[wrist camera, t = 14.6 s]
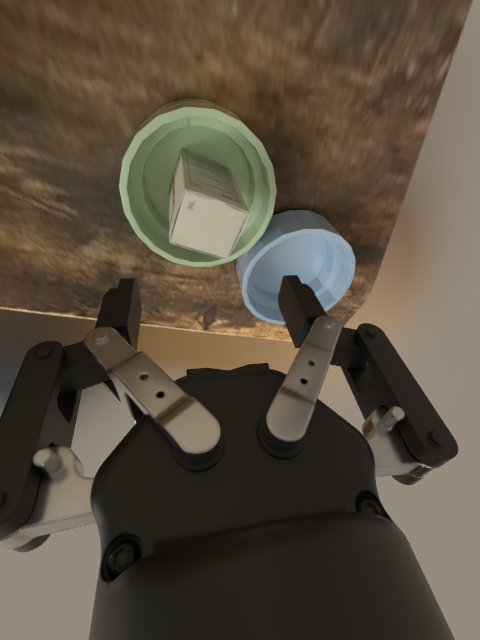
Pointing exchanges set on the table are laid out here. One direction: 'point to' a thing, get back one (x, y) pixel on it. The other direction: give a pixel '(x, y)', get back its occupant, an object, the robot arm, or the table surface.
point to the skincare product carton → (205, 206)
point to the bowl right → (295, 262)
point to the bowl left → (205, 140)
